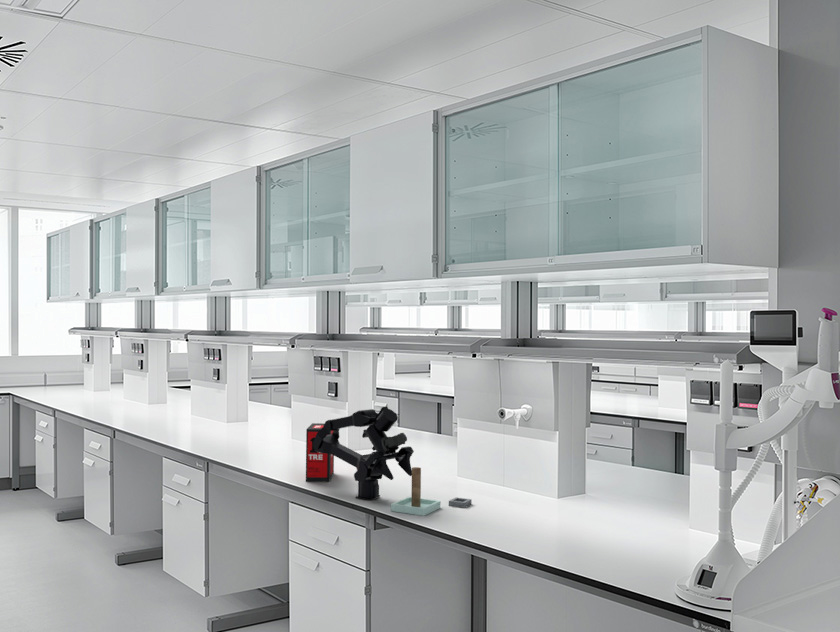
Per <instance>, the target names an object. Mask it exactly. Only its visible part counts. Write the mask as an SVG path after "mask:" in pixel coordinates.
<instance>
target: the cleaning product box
mask: <svg viewBox="0 0 840 632" xmlns="http://www.w3.org/2000/svg"><path fill="white" fill-rule="evenodd" d="M324 424H325V423H321V422H320V423H314V422H313V423H312V422H311V424H310V425H309V426H308V427H307V428H306V437H305V438H306V441H305V443H306V445H305V483H307V482H309V483H311V482H312V483H314V482H315V483H329V482H330V481H331V479H332V477H333V475H334V474H335V470H334V469H335V456H334V455H332V454H326V453H320V452H317V451H315V449H314V447H313V441H314V439H315V437H316V434H317V433H318V432H319V430H320V429H321V428H322V427H323V426H324ZM332 433H333V430H332V431H330V432H329V434H328V435H332Z"/></svg>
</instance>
